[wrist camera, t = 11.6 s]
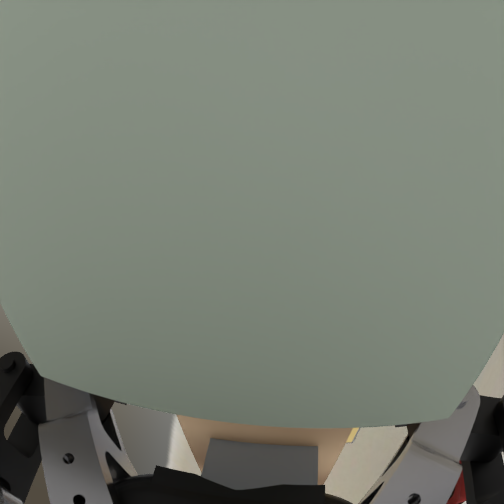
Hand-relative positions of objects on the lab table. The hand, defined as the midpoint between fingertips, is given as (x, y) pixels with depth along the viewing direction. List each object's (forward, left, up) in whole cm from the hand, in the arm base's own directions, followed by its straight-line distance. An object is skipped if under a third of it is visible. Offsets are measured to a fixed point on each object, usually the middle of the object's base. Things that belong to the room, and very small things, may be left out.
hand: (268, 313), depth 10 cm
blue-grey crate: (+6, 0, +3) cm, 7 cm away
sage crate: (-6, 0, +3) cm, 7 cm away
